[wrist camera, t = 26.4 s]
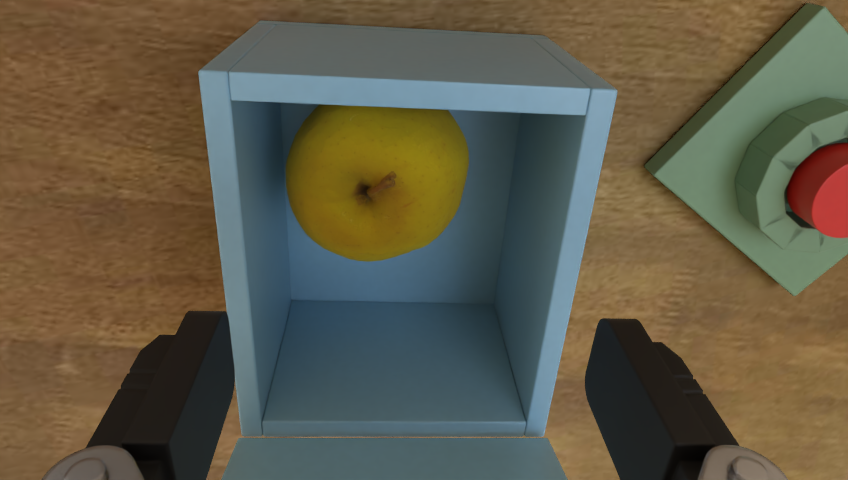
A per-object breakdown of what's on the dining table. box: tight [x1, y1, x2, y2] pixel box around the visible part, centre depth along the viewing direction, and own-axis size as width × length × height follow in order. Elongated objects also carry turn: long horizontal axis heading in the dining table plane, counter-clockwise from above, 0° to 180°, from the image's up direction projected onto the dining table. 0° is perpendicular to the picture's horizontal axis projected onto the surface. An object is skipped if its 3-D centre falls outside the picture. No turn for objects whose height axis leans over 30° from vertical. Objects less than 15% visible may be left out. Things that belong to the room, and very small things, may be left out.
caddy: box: [198, 20, 617, 437], centre depth 23 cm, size 14×12×9 cm
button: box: [787, 143, 848, 238], centre depth 25 cm, size 4×4×2 cm
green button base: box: [645, 3, 848, 296], centre depth 26 cm, size 11×9×3 cm
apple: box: [286, 104, 469, 262], centre depth 22 cm, size 6×6×8 cm
